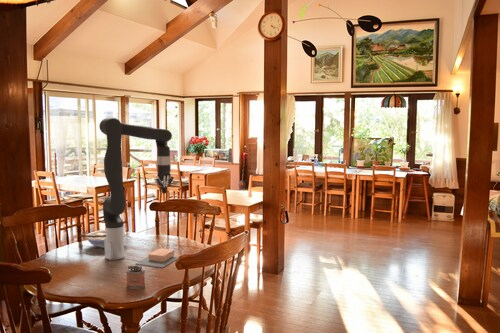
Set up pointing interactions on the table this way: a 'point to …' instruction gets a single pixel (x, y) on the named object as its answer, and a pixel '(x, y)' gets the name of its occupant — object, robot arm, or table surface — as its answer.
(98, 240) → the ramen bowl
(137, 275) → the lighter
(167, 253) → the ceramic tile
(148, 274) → the table surface
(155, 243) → the table surface
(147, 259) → the rubber mat
